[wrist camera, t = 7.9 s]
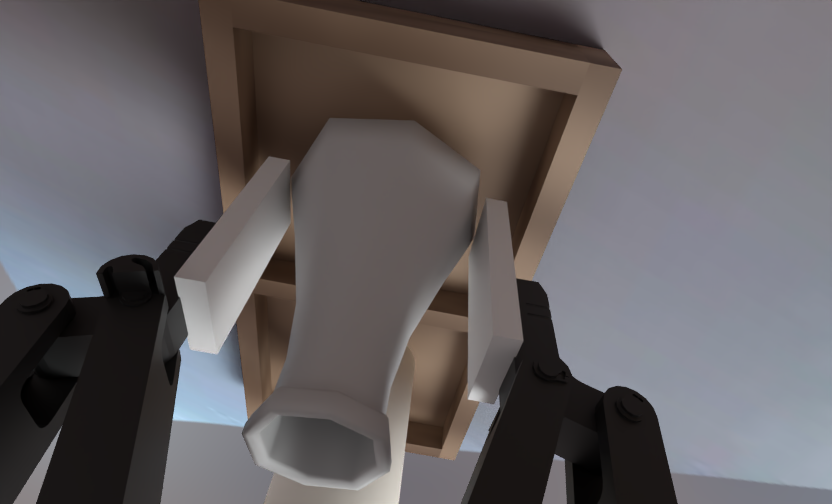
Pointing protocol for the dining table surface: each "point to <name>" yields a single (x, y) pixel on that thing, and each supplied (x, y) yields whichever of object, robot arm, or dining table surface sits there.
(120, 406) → the robot arm
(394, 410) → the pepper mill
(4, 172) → the dining table surface
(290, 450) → the flask
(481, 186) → the tray
